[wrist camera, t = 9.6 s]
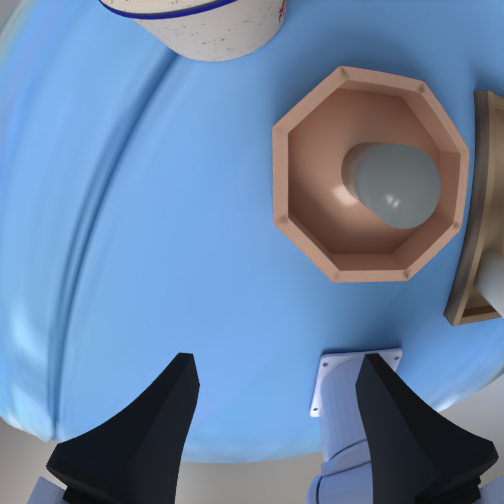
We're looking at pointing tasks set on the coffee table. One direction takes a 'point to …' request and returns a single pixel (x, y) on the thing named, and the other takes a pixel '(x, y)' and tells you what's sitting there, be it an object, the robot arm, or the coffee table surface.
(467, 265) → the tray
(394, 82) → the bowl
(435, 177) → the grey rounded cylinder
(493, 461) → the robot arm
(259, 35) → the teacup with lid
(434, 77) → the coffee table surface
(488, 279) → the light stone
